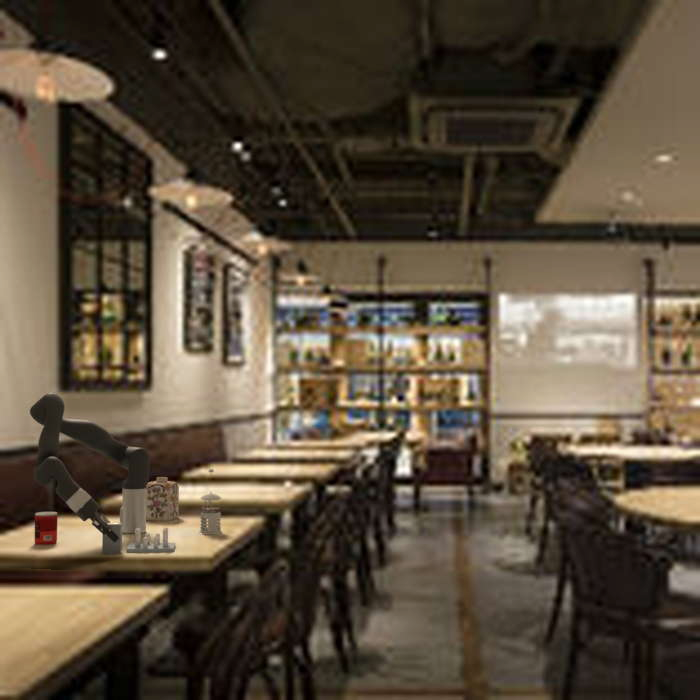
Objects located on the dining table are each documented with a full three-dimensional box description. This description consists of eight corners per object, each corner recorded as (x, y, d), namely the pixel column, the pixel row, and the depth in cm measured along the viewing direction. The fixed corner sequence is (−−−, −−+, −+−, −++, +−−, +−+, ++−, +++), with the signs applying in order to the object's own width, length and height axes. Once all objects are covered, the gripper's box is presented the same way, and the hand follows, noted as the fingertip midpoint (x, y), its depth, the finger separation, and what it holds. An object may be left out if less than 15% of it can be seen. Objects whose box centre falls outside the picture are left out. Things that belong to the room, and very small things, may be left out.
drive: (102, 554, 327) (102, 524, 328) (104, 551, 332) (104, 522, 333) (120, 553, 328) (120, 524, 328) (121, 551, 333) (122, 522, 333)
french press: (202, 535, 368) (203, 470, 369) (193, 531, 379) (193, 468, 380) (226, 533, 373) (227, 469, 374) (216, 529, 383) (217, 467, 384)
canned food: (61, 542, 351) (61, 512, 351) (47, 545, 343) (48, 515, 344) (43, 541, 353) (44, 511, 354) (29, 544, 346) (30, 513, 346)
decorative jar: (143, 520, 407) (144, 478, 408) (153, 516, 419) (154, 475, 419) (170, 521, 405) (170, 478, 406) (179, 517, 417) (180, 476, 417)
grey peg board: (126, 552, 331) (126, 531, 331) (130, 546, 343) (130, 526, 343) (173, 551, 333) (173, 530, 333) (175, 545, 345) (175, 525, 345)
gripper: (78, 509, 336) (112, 543, 337) (71, 515, 322) (107, 550, 323) (93, 494, 337) (128, 528, 338) (87, 499, 323) (123, 534, 324)
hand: (117, 539), depth 331 cm, fingers closed on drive, 5 cm apart
